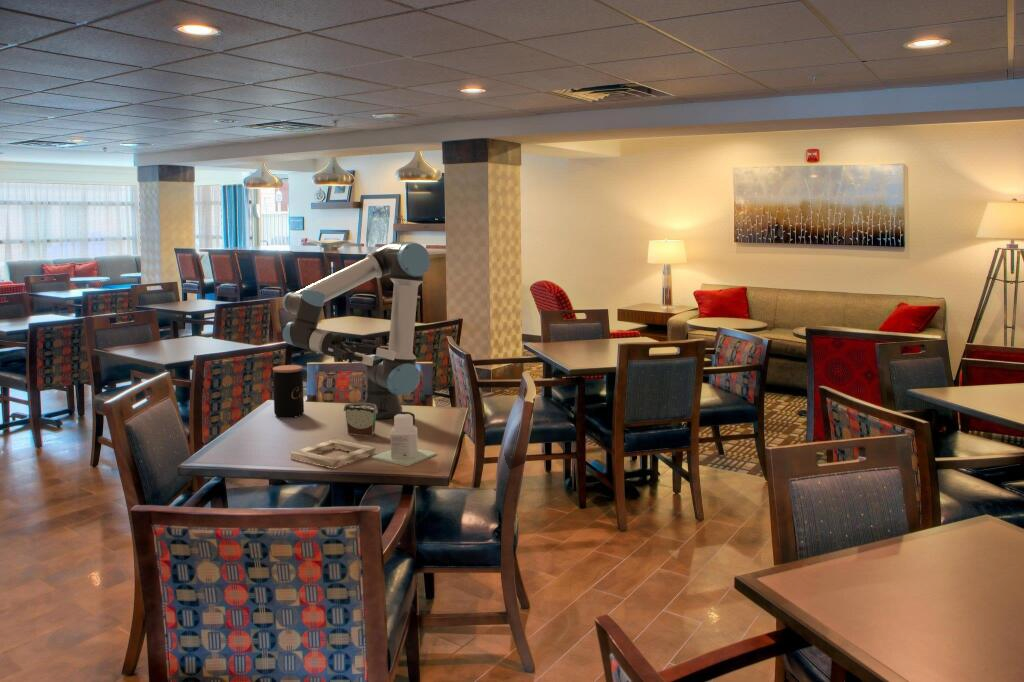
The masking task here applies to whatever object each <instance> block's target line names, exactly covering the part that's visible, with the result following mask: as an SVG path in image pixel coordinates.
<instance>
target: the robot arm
mask: <svg viewBox="0 0 1024 682" xmlns="http://www.w3.org/2000/svg"><path fill="white" fill-rule="evenodd" d="M430 266H431V257H430V254H429V251H428V250H427V248H426V247H424V246H423V244H420V243H418V242H413V241H391V242H389V243H386V244H385V245H382V246H380V247H379V248H377V249H375V250H373V251H371V252H368V253H366V255H365V258H363V259H361V260H359V261H357V262H355V263H353V264H351V265H349V266H346V267H344V268H341V270H338V271H336V272H334V273H332V274H331V275H328V276H326V277H324V278H322V279H319V280H318V281H316V282H314V283H311V284H310V285H308V286H305V288H304V287H303V288H301V289H300V290H297V291H290V292H288V293H286V294H285V295H284V296H283V297H282V302H281V304H282V307H283V309H284V310H285V312H288V313H289V314H291V315H295V317H294V320H293V321H289V322H288V323H286V325H285V327H283V329H282V339H283V340H284V342H285V343H286V344H289V345H291V346H294V347H297V348H299V349H304V350H307V351H308V350H309V351H312V352H316V354H317V355H319V354H323V355H326V356H329V357H333V358H335V357H337V358H339V359H341V361H344V362H347V361H348V363H350V364H352V363H353V362H355V363H359V364H363V365H364V373H365V375H364V376H365V397H364V401H363V403H371V404H375V405H376V407H377V410H378V413H377V414H376V420H384V419H392V418H393V415H394V414H396V413H399V412H403V407H402V405H401V401H400V399H399V396H407V395H409V394H411V393H412V392H414V391H415V390H416V389H417V388H418V386H419V383H420V381H421V373H420V370H419V369H418V367H417V366H416V365H417V356H416V355H415V354H414V353H413V349H414V348H413V347H414V337H415V327H416V314H417V313H416V312H417V303H418V302H417V301H418V291H419V289H418V288H419V286H420V285H421V284H422V283H424V275H425V274H426V272H427V271H428V270H429V269H430ZM388 275H389V280H390V281H391V282H392V283H393V291H392V300H391V301H392V304H391V316H390V324H389V325H390V328H389V337H388V339H389V340H388V349H385V348H383V347H381V346H380V344H377V345H375V344H368V343H363V342H359V341H358V342H357V341H354V340H350V341H349V340H345V341H344V339H343V336H342V335H341V334H339V333H335V332H332V331H331V332H330V331H328V330H326V329H321V328H317V327H318V325H319V321H320V317H321V314H322V310H323V307H324V305H325V303H326V302H329V301H330V300H332V299H334V298H336V297H338V296H340V295H342V294H344V293H346V292H348V291H350V290H352V289H354V288H356V287H358V286H361V285H362V284H365V283H366V282H368V281H370V280H373V279H374V278H376V279H380V278H382V277H384V276H388Z"/></svg>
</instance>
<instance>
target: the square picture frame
mask: <svg viewBox="0 0 1024 682" xmlns="http://www.w3.org/2000/svg"><path fill="white" fill-rule="evenodd" d="M332 448H337V449H336V450H338V449H341V450H340V451H343V450H345V451H344V452H347V451H349V452H348V453H345V454H342V455H338V456H336V457H329V456H326V455H321V453H320V452H322V453H324V452H323V451H325V452H327V451H326V450H328V451H330V450H329V449H331V450H333V449H332ZM317 453H319V454H317ZM374 454H375V455H377V447H373V446H369V445H364V444H360V443H355V442H351V441H347V440H346V441H344V440H341V439H337V438H333V439H330V440H326V441H323V442H320V443H319V442H318V443H317V444H313V445H310V446H307V447H304V448H303V447H302V448H301V449H297V450H294V451H291V452H290V459H291V458H293V459H292V460H294V459H297V460H296V461H298V460H302V461H306V462H310V463H315V464H320V465H324V466H329V467H333V468H334V467H337V466H340V465H344V464H346V465H348V464H347V463H349V464H351V463H350V462H352V463H354V462H353V461H355V462H357V461H356V460H358V461H360V460H359V459H361V460H363V459H366V458H368V456H369V457H372V456H374ZM371 455H372V456H371ZM365 457H366V458H365ZM362 458H363V459H362ZM302 461H301V462H302ZM306 462H305V463H306ZM310 463H309V464H310ZM344 466H345V465H344Z"/></svg>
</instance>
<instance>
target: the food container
mask: <svg viewBox="0 0 1024 682" xmlns="http://www.w3.org/2000/svg"><path fill="white" fill-rule="evenodd" d="M343 411H344V412H345V420H346V428H347V430H346V431H347V434H348V435H352V434H356V435H355V436H361V435H364V436H363V437H370V436H373V437H375V433H376V431H375V429H376V420H377V419H376V414H377V413H378V410H377V407H376V405H375V404H371V403H364V402H351V403H347V404H344V407H343Z"/></svg>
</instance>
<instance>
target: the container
mask: <svg viewBox="0 0 1024 682" xmlns="http://www.w3.org/2000/svg"><path fill="white" fill-rule="evenodd" d="M392 423H393V424H392V428H391V431H390V450H391V458H416V457H417V451H418V449H419V446H418V440H419V439H418V427H417V426H416V416H415V414H414V413H413V412H410V411H402V412H399V413H396V414H394V415H393V419H392Z"/></svg>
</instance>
